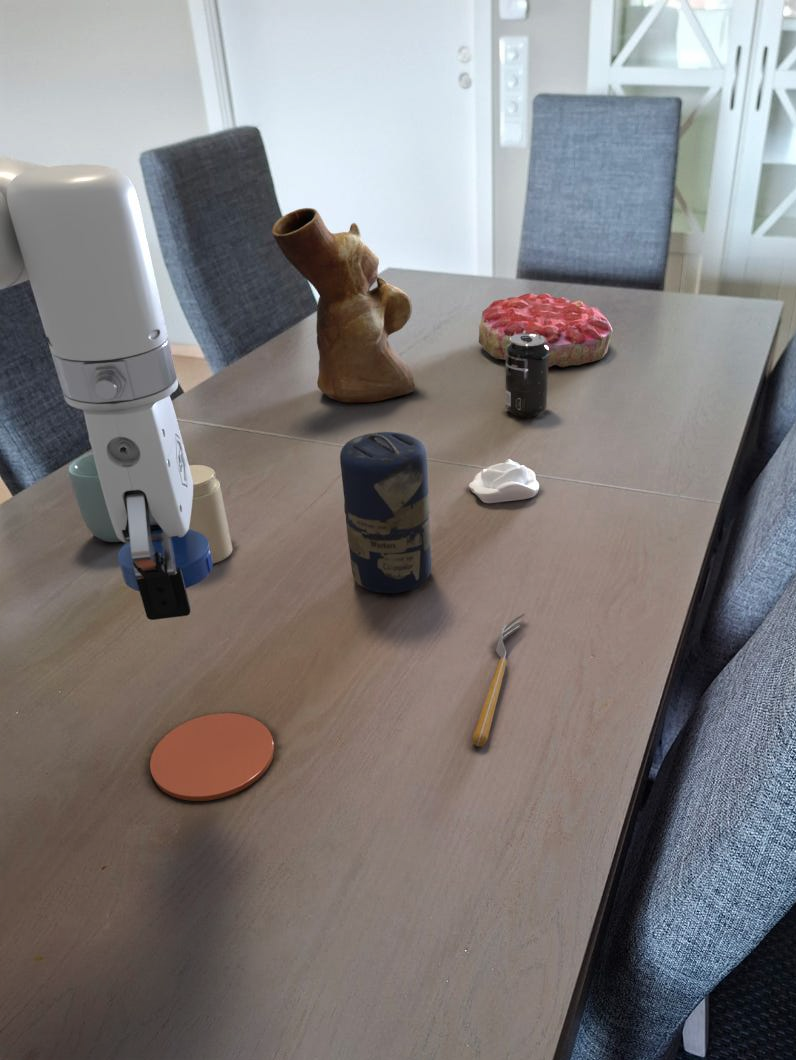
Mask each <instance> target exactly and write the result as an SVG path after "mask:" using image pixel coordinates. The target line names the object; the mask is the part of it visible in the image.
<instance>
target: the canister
mask: <svg viewBox="0 0 796 1060" xmlns="http://www.w3.org/2000/svg"><path fill="white" fill-rule="evenodd" d="M339 461H340V462H339V463H340V471H341V481H342V491H343V500H344V502H343V503H344V505H343V509H344V514H345V526H346V536H347V543H348V551H349V560H350V568H351V573H352V577H353V579H354V580H355V582H356V583H357V584H358V585H359V586H361V587H362V588H364V589H366V590H368V591H371V592H375V593H379V594H398V593H404V592H408V591H411V590H414V589H415V588H417V587H420V586H421V585H422V584H423V583H425V581H426V580H427V579H428V578H429V576H430V574H431V572H432V547H431V546H432V545H431V541H432V540H431V523H430V522H431V521H430V496H429V493H430V492H429V474H428V473H429V472H428V454H427V449H426V447H425V445H424V443H423V442H422V441H421V440H420V439H418V438H416V437H415V436H412V435H410V434H407V433H402V432H396V431H377V432H371V433H370V432H369V433H365V434H361V435H359V436H356V437H354V438H352V439H350V440H349V441H347V442H346V443H345V444H344V445H343V446H342V448H341V450H340V454H339Z"/></svg>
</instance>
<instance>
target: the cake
mask: <svg viewBox="0 0 796 1060" xmlns="http://www.w3.org/2000/svg"><path fill="white" fill-rule="evenodd" d="M613 332H614V331H613V328H612V325H611V323H610V321H609V320H608V319H607V317H606V316H605V315H603V312H602V311H601V310H600V309H599V308H597V307H595V306H591V305H590V306H589V305H587V304H585V303H584V302H583V301H580V300H569V299H567V298H565V297H555V296H552V295H550V294H549V293H546V292H545V293H540V294H535V293H531V292H529V293H525V294H523V295H520V296H512V297H508V298H506V299H497V300H494V301H493V302H492V303H491V304H490V305H489V306H488V307H486V308H485V309H484V310H483V311H482V312H481V319H480V323H479V326H478V344H480V345H481V346H482V349H483V350H484V351H485V352H486V353H488V354H489V355H490V356H491V357H493V358H495V359H496V360H505V361H506V347H507V346H508V345H509V344H510V338H511V337H512V336H513V335H516V334H522V333H533V334H539V335H542V336H543V337H545V344H546V345H547V346H548V348H549V364H548V368H551V367H553V366H555V365H556V366H558V367H560V368H566V367H568V366H580V365H583V364H586V363H593V362H595V361H596V362H597V361H600V360H603V358H604V357H605V355H606V354H607V353H608V351H609V345H610V343H611V342H610V341H611V338H612V335H613Z"/></svg>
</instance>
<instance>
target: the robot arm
mask: <svg viewBox="0 0 796 1060" xmlns="http://www.w3.org/2000/svg"><path fill="white" fill-rule="evenodd" d="M150 251H151V250H150V246H149V242H148V238H147V233H146V228H145V223H144V219H143V215H142V209H141V206H140V202H139V198H138V195H137V190H136V188H135V186H134V184H133V182H132V181H131V179H130V178H129V177H128V176H127V175H126V174H125V173H124V172H123V171H120V170H119V169H117V168H115V167H110V166H108V165H103V164H101V165H99V164H62V165H53V166H52V165H51V166H47V165H42V164H37V163H33V162H28V161H25V160H20V159H15V158H11V157H6V156H0V291H1V290H4V289H7V288H10V287H13V286H17V285H19V284H23V283H24V282H27V281H29V283H30V286H31V291H32V293H33V297H34V301H35V303H36V306H37V310H38V313H39V317H40V320H41V323H42V327H43V331H44V334H45V337H46V341H47V343H48V347H49V350H50V354H51V358H52V361H53V364H54V368H55V372H56V375H57V379H58V382H59V385H60V388H61V392H62V395H63V399H64V401H65V403H66V404H67V405H69V406H70V407H71V408H72V407H73V408H75V409H78V410H82V411H83V416H84V421H85V425H86V429H87V435H88V441H89V444H90V448H91V451H92V453H93V456H94V460H95V464H96V468H97V472H98V476H99V480H100V483H101V487H102V491H103V495H104V498H105V502H106V506H107V509H108V512H109V516H110V519H111V522H112V525H113V528H114V530H115V533H116V535H117V537H118V539H120V540H121V541H122V543H125V544H126V543H128V542H129V541H130V547H131V556H132V560H133V565H134V571H135V577H136V580H137V584H138V587H139V591H138V592H139V594H140V597H141V602H142V604H143V608H144V609H143V610H144V612H145V615H146V618H147V620H150V621H156V620H163V619H173V618H179V617H180V618H181V617H186V616H189V615H191V614H190V613H191V604H190V600H189V595H188V591H187V588H186V587H185V583H184V579H183V575H182V571H181V567H179V568H176V564H175V558H174V551H173V545H172V539H171V537H172V536H178V537H183V536H184V535H185V534H186V533H187V531H188V529H189V525H190V518H191V510H192V500H193V480H192V475H191V471H190V467H189V465H190V464H189V460H188V457H187V453H186V450H185V449H186V448H185V445H184V441H183V437H182V434H181V430H180V426H179V422H178V418H177V415H176V412H175V407H174V404H173V401H172V397H171V395H173V393H175V392H176V391H177V389H178V387H179V381H178V376H177V372H176V368H175V362H174V357H173V353H172V348H171V344H170V338H169V336H168V331H167V326H166V322H165V316H164V312H163V308H162V303H161V298H160V292H159V289H158V288H159V287H158V284H157V279H156V274H155V269H154V266H153V261H152V256H151V252H150ZM156 530H162V532H158V533H151V532H152V531H156ZM157 541H162V545H163V551H164V556H162V554H161V553H160V552H157V553H155V550H154V548H153V545H152V542H157Z"/></svg>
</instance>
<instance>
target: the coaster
mask: <svg viewBox="0 0 796 1060" xmlns="http://www.w3.org/2000/svg"><path fill="white" fill-rule="evenodd" d="M274 754H275V744H274V738H273V735H272V734H271V732H270V730H269V728H268V727H267V726H266V725H264V724H263V723H262V722H261V721H259V720H258V719H256V718H253V717H251V716H249V715H245V714H240V713H231V712H224V713H223V712H222V713H221V712H220V713H213V714H207V715H203V716H199V717H195V718H192V719H190V720H188V721H186V722H184V723H182V724H180V725H178V726H176V727H174V729H172V730H171V731H169V732H168V733H167V734H165V736H164V737H162V739H160V740H159V742H158V743H157V744H156V745H155V748H154V749H153V751H152V754H151V757H150V762H149V764H150V765H149V769H150V773H151V777H152V779H153V782H154V783H155V785H156V786H157V787H158V788H159V789H160V790H161V792H164V793H165V794H167V795H168V796H171V797H173V798H176V799H179V800H182V801H183V800H184V801H190V802H191V801H192V802H205V801H213V800H219V799H223V798H225V797H229V796H232V795H234V794H237V793H239V792H241V791H243V790H245V789H246V788H248V787H250V786H251V785H253V784H254V783H255V782H257V781H258V780H259V779H260V778H261V777H262V776H263V775H264V774H265V772H266V771H267V770H268V768H269V767H270V765H271V763H272V761H273V758H274Z"/></svg>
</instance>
